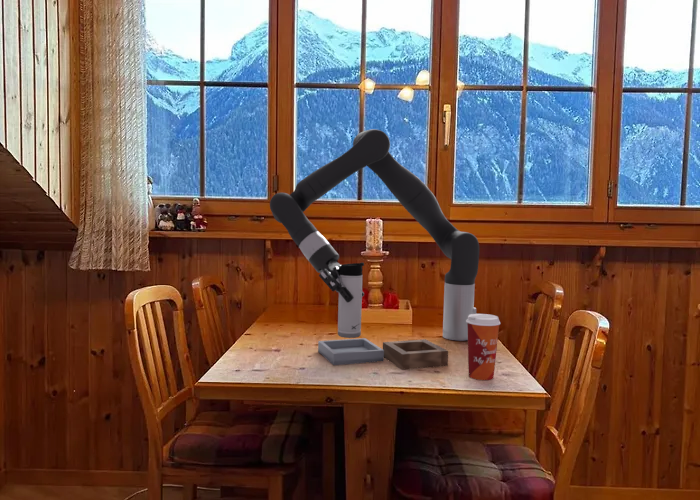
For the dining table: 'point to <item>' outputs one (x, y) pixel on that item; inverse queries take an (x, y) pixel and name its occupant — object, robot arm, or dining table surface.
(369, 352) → the parts tray
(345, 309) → the travel mug
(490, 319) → the coffee cup
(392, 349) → the socket collar
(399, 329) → the dining table surface
